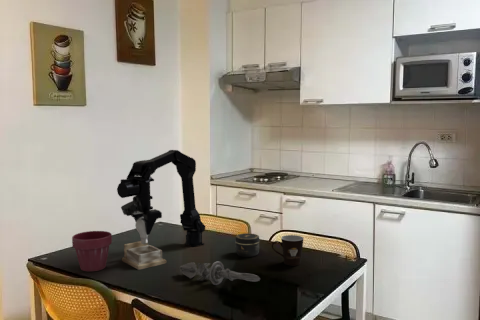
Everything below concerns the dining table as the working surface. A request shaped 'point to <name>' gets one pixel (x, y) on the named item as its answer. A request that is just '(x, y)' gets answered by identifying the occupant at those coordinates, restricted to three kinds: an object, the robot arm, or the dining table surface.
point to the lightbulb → (142, 230)
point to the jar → (247, 245)
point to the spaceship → (215, 272)
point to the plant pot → (92, 249)
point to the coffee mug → (291, 249)
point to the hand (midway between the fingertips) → (144, 233)
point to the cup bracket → (142, 255)
